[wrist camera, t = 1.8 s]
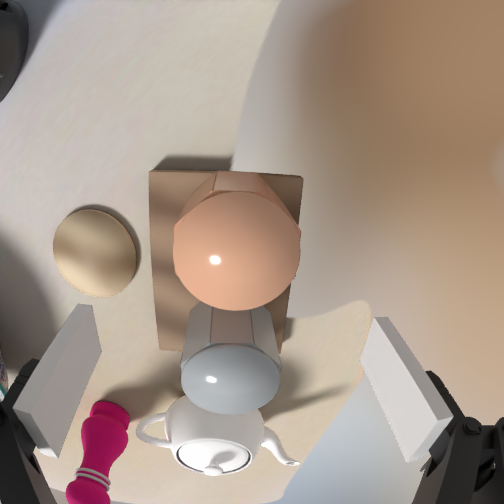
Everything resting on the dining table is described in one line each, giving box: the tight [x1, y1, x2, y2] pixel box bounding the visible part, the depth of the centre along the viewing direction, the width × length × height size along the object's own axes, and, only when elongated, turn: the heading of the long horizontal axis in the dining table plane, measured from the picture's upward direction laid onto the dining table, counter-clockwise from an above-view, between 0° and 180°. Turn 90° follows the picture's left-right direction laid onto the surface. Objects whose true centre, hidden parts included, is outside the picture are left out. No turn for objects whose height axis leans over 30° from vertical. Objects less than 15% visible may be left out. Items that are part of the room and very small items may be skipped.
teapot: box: [136, 395, 300, 476], centre depth 37 cm, size 22×14×11 cm, turn 75°
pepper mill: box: [66, 401, 130, 504], centre depth 33 cm, size 7×7×20 cm
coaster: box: [53, 209, 137, 297], centre depth 32 cm, size 10×10×1 cm
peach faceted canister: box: [173, 171, 301, 311], centre depth 26 cm, size 8×8×9 cm
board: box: [149, 169, 303, 354], centre depth 33 cm, size 20×14×2 cm
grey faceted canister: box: [181, 301, 281, 415], centre depth 30 cm, size 8×8×9 cm
